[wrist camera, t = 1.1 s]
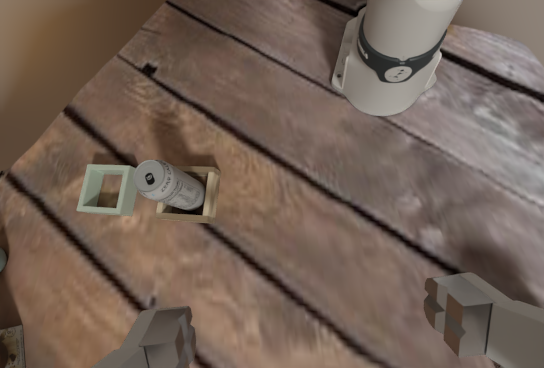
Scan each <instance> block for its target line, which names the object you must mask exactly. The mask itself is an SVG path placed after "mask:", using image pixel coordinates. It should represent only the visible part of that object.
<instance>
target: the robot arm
mask: <svg viewBox="0 0 544 368" xmlns="http://www.w3.org/2000/svg"><path fill="white" fill-rule="evenodd" d="M462 1H463V0H367V6H366V7H364V8H363V9H361V10H360V11H359V14H358V17H356V18H353V19H352V20H350V21H348V22H347V24H346V28H345V31H344V35H343V39H342V43H341V47H340V51H339V54H338V58H337V62H336V66H335V70H334V74H333V77H332V81H331V85H332V87H333V88H334V89H336V90H337V91H339V92H341V93H343V94H344V95H345V96H346V98H347V99H348V100H349V102H350V103H351V104H352V105H353V106H354V107H356V108H357V109H359V110H360V111H362V112H364V113H367V114H370V115H375V116H389V115H394V114H397V113H400V112H402V111H404V110H406V109H407V108H409V107H410V106H411V105H412V104H413V103H414V102H415V101H416V99H417V98H418V97H419V95H420V94H421V93H422V92H424V91H426V90H427V89H429V88H431V87H432V86H433V85H434V84H435V82H436V75H435V69H436V67H437V65H438V63H439V61H440V59H441V53H440V50H439V49H440V47H441V45H442V43H443V40H444V38H445V36H446V32H447V27H448V25H449V24H450V22H451V20H452V18H453V17H454V15H455V13H456V11H457V10H458V8H459V6H460V4H461V3H462ZM338 76H340V78H338ZM425 290H426V291H427V293H428V296H427V297H426V298H425V300H424V311H425V315H426V318H427V320H428V321H429V323H430V325H431V326H432V327H433V328H434V329H435V330H436V331H438V332H440V333H442V334H444V341H445V342H446V344H447V345H448V346H449V347H450V348H451V349H452V350H453V352H454V353H455V354H456V355H457V356H458V357H468V356H478V355H486V357H488V358H490V359H491V360H493V361H495V362H496V363H498V364H499V365H501V366H503V367H504V368H544V309H542V308H539V307H536V306H533V305H530V304H527V303H524V302H521V301H513V300H511V299H510V298H508V297H507V296H506V295H504V294H503V293H501V292H500V291H499V290H497V289H496V288H494V287H493V286H491V285H490V284H489V283H487V282H486V281H484V280H483V279H481V278H480V277H479V276H477V275H476V274H474V273H470V272H468V273H461V274H455V275H450V276H442V277H434V278H427V280H426V282H425ZM191 320H192V313H191V308H190V307H189V306H183V307H172V308H162V309H153V310H144V311H142V312H141V313H140V314H139V316H138V318H137V319H136V321H135V323H134V325H133V326H132V328H131V330H130V332H129V333H128V335H127V337H126V339H125V340H124V342H123V344H122V346H121V347H120V349H118V350H114V351H112V352H111V353H110V354H108V355H107V356H106V357H104V358H103V359H102V360H100V361H99V362H98V363H96V364H95V365H94V366H92V367H91V368H189V364H190V363H191V362H192V361H193V360H194V355H195V348H196V335H195V329H194V327H193V326H192V325H190V323H191Z"/></svg>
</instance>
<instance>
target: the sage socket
mask: <svg viewBox="0 0 544 368" xmlns="http://www.w3.org/2000/svg"><path fill="white" fill-rule="evenodd" d="M135 170H136V168H134V167H132V166H125V165H95V164H88V165H87V169H86V174H85V178H84V182H83V186H82V190H81V194H80V199H79V203H78V207H77V211H80V212H86V213H94V214H108V215H123V216H132V214H133V208H134V203H135V198H136V193H137V188H136V187H135V185H134V182H133V175H134V172H135ZM104 174H118V175H123V179H122V183H121V188H120V193H119V198H118V203H117V207H116V208H105V207H97V203H98V198H99V194H100V189H101V185H102V180H103V176H104Z"/></svg>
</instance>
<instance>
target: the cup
mask: <svg viewBox="0 0 544 368" xmlns="http://www.w3.org/2000/svg"><path fill="white" fill-rule="evenodd" d="M6 261H7V258H6V254H5V252H4V250H3V249H2V248H1V247H0V272H1V271H2V270H3V268H4V267H5V265H6Z"/></svg>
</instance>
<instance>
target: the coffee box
mask: <svg viewBox="0 0 544 368" xmlns="http://www.w3.org/2000/svg"><path fill="white" fill-rule="evenodd" d="M0 368H25V359H24V344H23V327H22V325H19V326H15V327H11V328H7V329H3V330H0Z"/></svg>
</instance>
